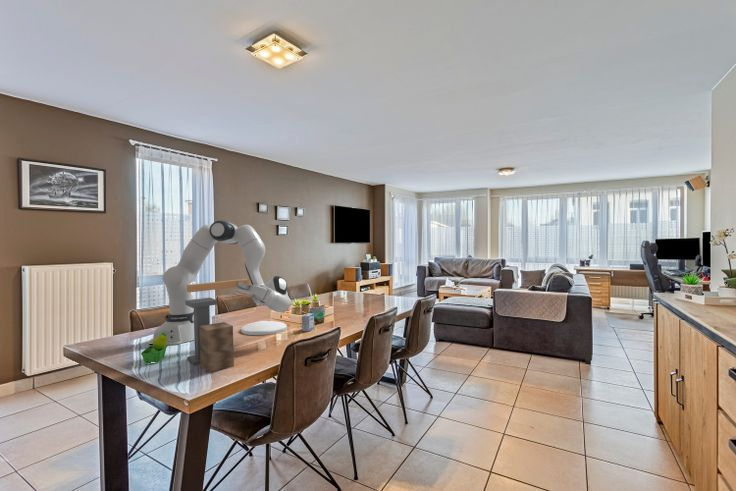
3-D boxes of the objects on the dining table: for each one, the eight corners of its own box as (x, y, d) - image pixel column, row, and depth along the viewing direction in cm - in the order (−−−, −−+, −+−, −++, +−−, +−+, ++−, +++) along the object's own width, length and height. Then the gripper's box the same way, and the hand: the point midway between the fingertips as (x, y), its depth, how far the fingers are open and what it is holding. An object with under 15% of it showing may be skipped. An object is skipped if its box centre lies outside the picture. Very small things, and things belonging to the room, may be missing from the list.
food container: (317, 325, 211) (316, 309, 211) (309, 324, 214) (309, 308, 214) (330, 321, 222) (329, 305, 221) (322, 320, 225) (322, 304, 225)
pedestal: (225, 360, 153) (224, 322, 153) (233, 366, 146) (232, 326, 145) (200, 366, 146) (199, 326, 146) (208, 372, 139) (207, 330, 139)
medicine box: (309, 331, 198) (309, 316, 198) (301, 331, 199) (301, 316, 198) (314, 328, 206) (314, 313, 205) (307, 328, 206) (306, 313, 206)
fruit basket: (149, 357, 159) (148, 332, 159) (171, 355, 162) (170, 330, 162) (140, 365, 148) (139, 338, 148) (164, 363, 151) (163, 336, 151)
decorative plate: (295, 321, 206) (257, 330, 187) (295, 328, 206) (257, 338, 187) (269, 316, 222) (232, 324, 203) (269, 323, 223) (232, 331, 204)
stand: (211, 354, 161) (209, 297, 160) (218, 360, 153) (217, 300, 153) (187, 360, 154) (185, 300, 154) (193, 366, 147) (191, 303, 146)
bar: (246, 285, 168) (246, 278, 168) (249, 285, 166) (249, 279, 166) (186, 291, 151) (186, 284, 151) (188, 292, 149) (188, 285, 148)
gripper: (255, 286, 180) (230, 275, 172) (273, 290, 164) (247, 277, 156) (249, 298, 178) (224, 287, 170) (267, 303, 162) (241, 291, 154)
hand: (235, 282), depth 163 cm, fingers closed on bar, 3 cm apart
